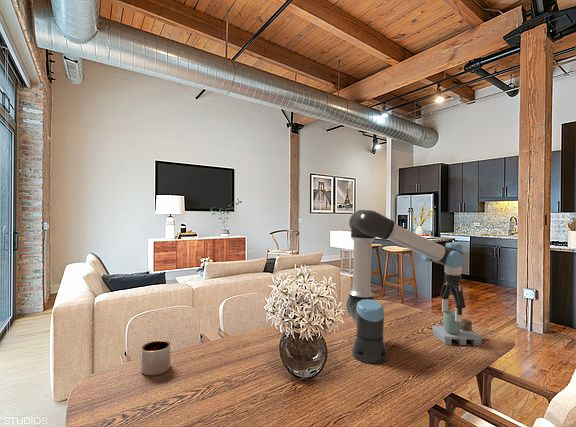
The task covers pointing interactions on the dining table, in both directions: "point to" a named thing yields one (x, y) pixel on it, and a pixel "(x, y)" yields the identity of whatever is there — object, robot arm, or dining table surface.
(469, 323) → the block
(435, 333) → the dock
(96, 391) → the dining table surface
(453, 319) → the cup
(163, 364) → the planter
